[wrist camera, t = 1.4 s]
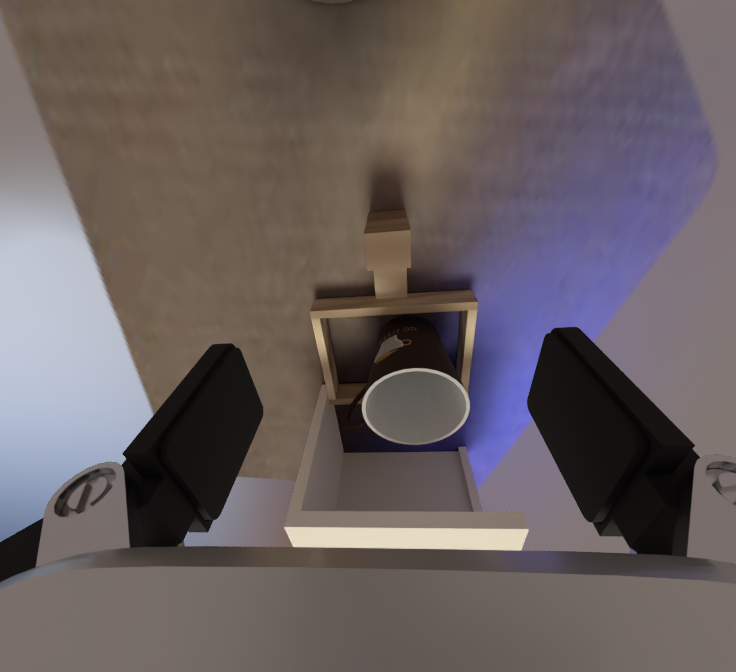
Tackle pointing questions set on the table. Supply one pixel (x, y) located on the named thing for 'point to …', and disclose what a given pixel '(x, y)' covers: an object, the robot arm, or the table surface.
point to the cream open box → (390, 498)
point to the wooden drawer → (390, 300)
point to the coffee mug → (411, 386)
